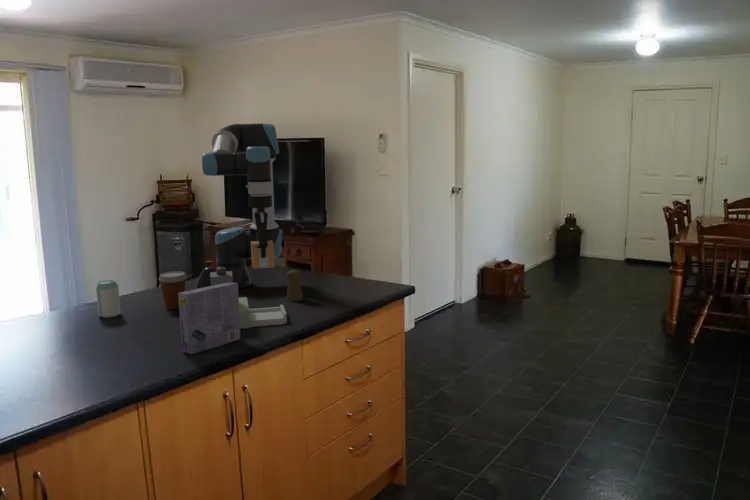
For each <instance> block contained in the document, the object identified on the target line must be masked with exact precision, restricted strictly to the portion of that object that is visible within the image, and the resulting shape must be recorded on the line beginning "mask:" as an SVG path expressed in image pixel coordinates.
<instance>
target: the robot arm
mask: <svg viewBox="0 0 750 500" xmlns="http://www.w3.org/2000/svg"><path fill="white" fill-rule="evenodd" d="M211 146H212V149H211V151H210V152H204V153H203V154H202V155H201V156H202V157H201V167H202V173H203V175H205V176H209V177H210V176H213V177H217V176H222V177H223V176H247V184H245V188H246V189H247V191H248V193H247V194H248V207H249V208H251V209H252V223H251V224H250V225H249V230H246V229H245V227H243V226H236V227H229V228H225V229H220V230H219V231H217V232H216V233H215V235H214V236H215V237H214V239H215V240H214V245H215V255H216V256H215V258H216V259H215V262H216V268H218V267H225V268H226V271H232V276H233V283H237V284H238V290H239V289H243V288H247V287H250V286H251V285H252V278H251V275H250V273H249V269H248V268H247V260H252V256H251V241H259V246H257V248H259V267H260V268H259V269H266V268H265V267H268V252H267V246H268V244H267V241H269V240H272V241H273V243H274V259H277V258H279V257H280V255H281V251H282V243H283V229H280V228H279V224H278V223H277V222H276V221H275V198H274V174H273V171H274V169H273V163H274V161H275V160H276V158H277V155H278V154H280V148H279V141H278V136H277V131H276V127H275V125H274V124H272V123H262V122H261V123H234V124H229V125H227V126H223V127H222V128H220V129H218V130H217V131H216V132H215V133H214V134H213V137H212V140H211Z"/></svg>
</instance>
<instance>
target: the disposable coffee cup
mask: <svg viewBox="0 0 750 500" xmlns="http://www.w3.org/2000/svg"><path fill="white" fill-rule="evenodd" d="M186 279H187V275H186V273H185V272H183V271H167V272H162V273H160V274H159V277H158V280H159V282H160V285H161V292H162V295H163V300H164V305H165V308H166V309H168V310H169V309H170V310H172V309H173V310H174V309H179V299H178V293H180V292H185V291H186V289H185V288H186Z"/></svg>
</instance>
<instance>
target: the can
mask: <svg viewBox="0 0 750 500" xmlns="http://www.w3.org/2000/svg"><path fill="white" fill-rule="evenodd" d="M95 290H96V301H97V302H96V303H97V312H98V313H97V314H98V316H99V317H100V318H102V317H103V319H112V318H111V317H113V318H116V317H119V315H120V314H121V312H122V311H121V310H122V309H121V299H120V290H119V284H118V282H117V280H113V279H106V280H100V281H98V282H97V285H96V287H95Z"/></svg>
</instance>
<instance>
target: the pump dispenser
mask: <svg viewBox="0 0 750 500" xmlns="http://www.w3.org/2000/svg"><path fill="white" fill-rule="evenodd" d="M210 272H216V268H214V267H212V266H207V267H205V268H203V270H202V271H201V272H200V275H199V278H198V280H197V283H196V289H199V288H204V287H209V286H211V282H210Z"/></svg>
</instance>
